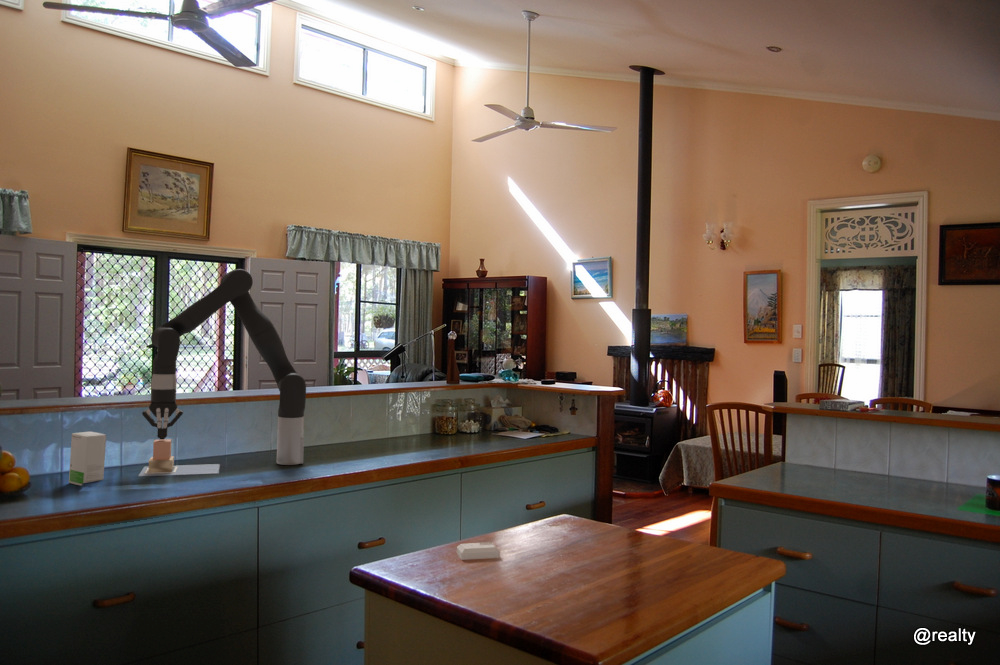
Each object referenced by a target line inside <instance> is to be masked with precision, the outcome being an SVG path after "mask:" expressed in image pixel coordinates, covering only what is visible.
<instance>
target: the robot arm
mask: <svg viewBox="0 0 1000 665" xmlns="http://www.w3.org/2000/svg"><path fill="white" fill-rule="evenodd" d="M253 283H254V282H253V277H252V274H250V272H248V271H247V270H245V269H242V268H236V269H233V270H231V271H229V272H227V273H225V274H224V275H222V276H221V280H220V284H218V286H216V287H215V289H213V290H212V291H211V292H209V293H207V294H206V295H205V296H203V297H201V298H200V299H199V300H197V301H195V302H194V303H192V304H191V305H189V306H188V307H187V308H186V309H184V310H183V311H181V312H180V313H179V314H178V315H177V316H175V317H174V318H171V319H170V320H168V321H167V322H165V323H163V324H161V325H160V326H159V327H157V328H155V329H154V331H153V332H152V334H151V336H150V342H151V344H152V345H153V346H154V347H155V348H157V354H156V356H155V357H154V358H153V362H152V376H151V384H150V387H151V389H150V404H149V406H148V408H147V409H145V410H143V411H142V413H141V414H142V416H143V417H144V419H145V420H146V421H147V422H148V423H149V424H150V426H152V427H154V428H156V429H157V436H156V437H157V439H159V440H164V439H167V437H168V428H170V427H173V425H175V423H176V422H177V421H178V420H180V418H181V416H182V415H183V414H184V411H183V410H181V409H179V408H178V404H177V402H176V401H177V374H176V373H177V360H178V359H177V358H178V355H179V351H180V346H181V337H182V336H183V335H185V334H190V333H192V331H194V330H195V329H196V328H198V327H199V326H201V325H202V324H203V323H204V322H205V321H207V320H208V319H209V318H211V316H213V315H214V314H215V313H216V312H218V311H219V310H220V309H221V308H222V307H224V306H225V305H227V304H228V303H230V304H231V305H232V307H233V309H234V310H235V311H236V312H237V315H238V317H239V318H240V321H241V323H242V324H243V326H244V329H245V330H246V332H247V334H248V336H249V338H250V340H251V341H252V343H253V345H254V346H255V349H256V350H257V351H258V353H259V354H260V357H262V358H261V359H263V360H264V362H265V363H266V365H267V366H268V368H269V370H270V371H271V373H272V374H271V375H272V376H273V379H274V380H275V382H276V383H275V384H276V385H277V388H278V391H279V405H278V410H277V433H276V434H277V435H276V436H277V437H276V438H277V439H276V440H277V442H276V464H277V465H281V466H282V465H285V466H289V465H291V466H292V465H294V466H295V465H299V464H300V465H301V464H302V465H303V464H304V448H305V447H304V445H305V444H304V443H305V439H304V429H305V428H304V427H305V426H304V423H305V411H306V410H305V409H306V399H307V398H306V395H307V384H306V380H305V378H304V377H303V376H301V375H300V374H298V373H297V371H296V370H295V368H294V367H293V365H292V364H291V362H290V360H289V359H288V357H287V354H286V351H285V347H284V345H283V342H282V339H281V337H280V334H279V333H278V331H277V329H276V327H275V326H274V323H273V322H272V321H271V320H270V319H269V317H268V316H267V315H266V314H265V313H264V312H263V311H262V310H261V309H260V308H259V307H258V306H257V305H256V302H254V300H253V298H252V296H251V294H250V292H249V291H250V290H251V289H252V287H253ZM174 412H175V413H174ZM151 414H153V416H154V418H156V421H155V420H154V419H153V417H152V416H151ZM173 414H175V416H174V417H173V419H171V421H170V422H169V419H170V417H172V415H173Z"/></svg>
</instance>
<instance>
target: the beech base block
mask: <svg viewBox="0 0 1000 665" xmlns="http://www.w3.org/2000/svg"><path fill="white" fill-rule="evenodd" d="M148 466H149V470H148V473H155V472H172V471H173V468H174V466H175V456H173V455H171V458H170V460H153V456H151V457H150V458H149V460H148Z"/></svg>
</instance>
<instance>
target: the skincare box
mask: <svg viewBox="0 0 1000 665" xmlns="http://www.w3.org/2000/svg"><path fill="white" fill-rule="evenodd" d="M70 440H71V443H70V458H69V459H70V460H69V470H68V471H69V473H68V475H69V476H68V483H69V484H73V485H76V486H83V484H84V483H85V484H87V483H92V482H98V481H103V480H104V475H105V474H104V473H105V460H106V446H107V434H104V433H101V432H95V431H92V430H91V431H90V430H89V431H83V432H82V431H81V432H73V433H71V439H70ZM83 487H86V486H83Z"/></svg>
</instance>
